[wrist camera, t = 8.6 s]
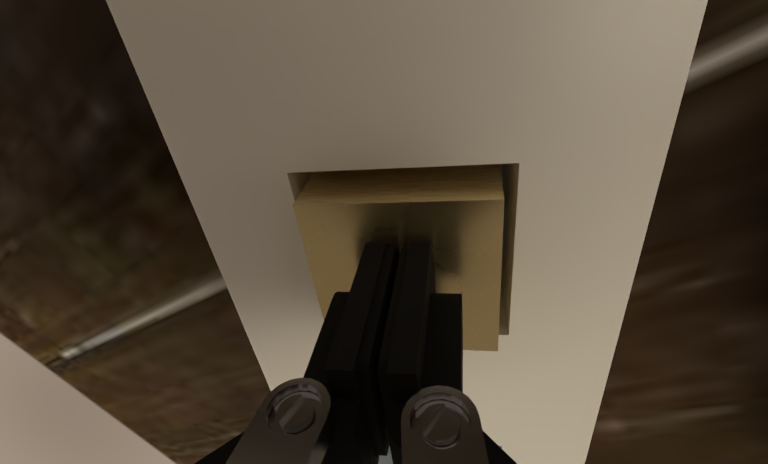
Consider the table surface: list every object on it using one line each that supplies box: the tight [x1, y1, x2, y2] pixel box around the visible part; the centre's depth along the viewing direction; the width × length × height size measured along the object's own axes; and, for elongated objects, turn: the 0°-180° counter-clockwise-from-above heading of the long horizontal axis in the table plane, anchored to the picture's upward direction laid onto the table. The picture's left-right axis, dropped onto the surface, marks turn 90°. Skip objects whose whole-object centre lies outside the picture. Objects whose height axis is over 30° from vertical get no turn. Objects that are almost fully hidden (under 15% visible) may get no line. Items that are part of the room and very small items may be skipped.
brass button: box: [293, 164, 504, 351], centre depth 12 cm, size 5×5×3 cm
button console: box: [106, 0, 708, 464], centre depth 18 cm, size 28×12×6 cm, turn 7°
